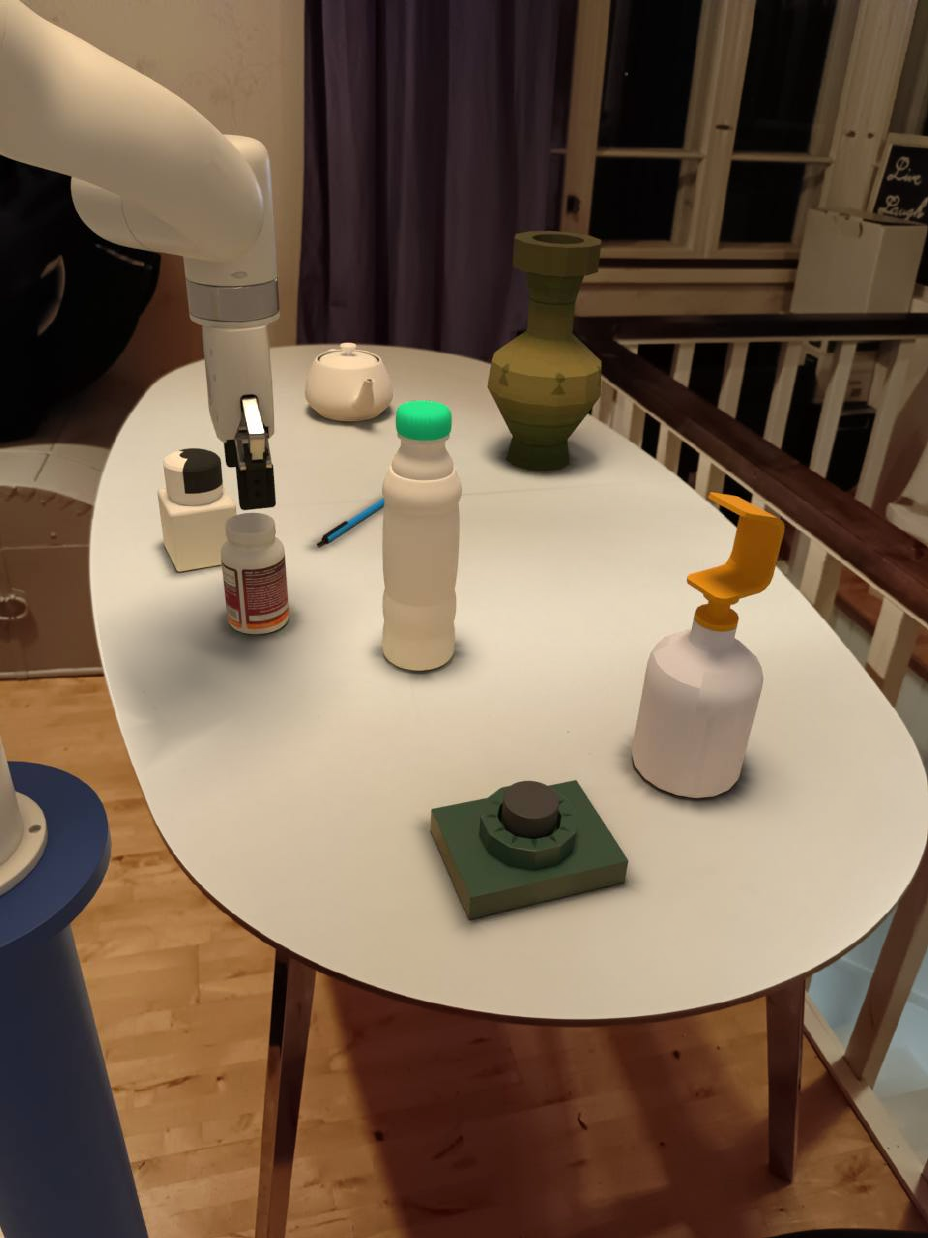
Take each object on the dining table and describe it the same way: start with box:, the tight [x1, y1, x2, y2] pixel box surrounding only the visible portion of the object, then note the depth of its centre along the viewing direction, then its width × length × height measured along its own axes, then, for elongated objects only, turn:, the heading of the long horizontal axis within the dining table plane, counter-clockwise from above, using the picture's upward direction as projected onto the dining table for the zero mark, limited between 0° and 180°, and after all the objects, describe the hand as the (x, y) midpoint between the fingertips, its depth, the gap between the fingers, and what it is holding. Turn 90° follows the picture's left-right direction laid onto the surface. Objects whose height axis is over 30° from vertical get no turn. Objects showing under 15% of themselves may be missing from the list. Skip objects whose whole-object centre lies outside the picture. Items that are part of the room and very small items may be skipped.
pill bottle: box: [221, 512, 290, 635], centre depth 94 cm, size 6×6×11 cm
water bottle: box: [381, 399, 463, 672], centre depth 87 cm, size 7×7×25 cm
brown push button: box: [502, 780, 559, 839], centre depth 69 cm, size 4×4×2 cm
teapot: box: [304, 342, 394, 422], centre depth 148 cm, size 22×14×11 cm, turn 23°
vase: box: [487, 230, 602, 473], centre depth 130 cm, size 16×16×30 cm
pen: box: [316, 498, 385, 547], centre depth 119 cm, size 1×19×1 cm, turn 152°
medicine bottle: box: [156, 447, 238, 573], centre depth 106 cm, size 7×7×12 cm
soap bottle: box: [630, 491, 785, 799], centre depth 74 cm, size 9×9×25 cm
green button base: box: [430, 779, 629, 920], centre depth 70 cm, size 12×9×4 cm
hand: (250, 485), depth 90 cm, fingers open, 9 cm apart
